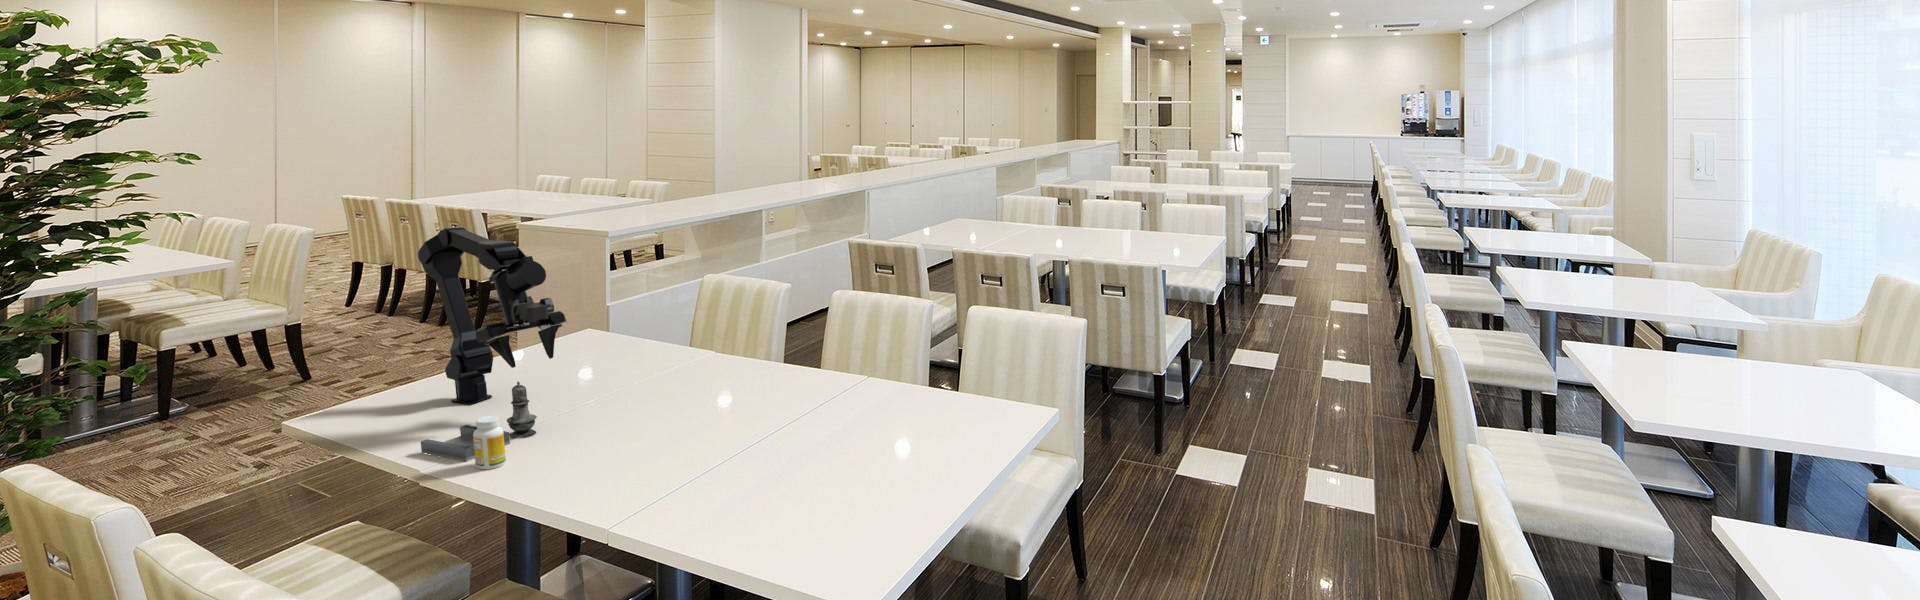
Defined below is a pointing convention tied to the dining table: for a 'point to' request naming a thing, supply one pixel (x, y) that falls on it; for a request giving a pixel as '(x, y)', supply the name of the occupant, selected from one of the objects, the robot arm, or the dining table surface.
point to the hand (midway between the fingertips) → (532, 362)
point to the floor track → (456, 445)
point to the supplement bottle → (489, 443)
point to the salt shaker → (521, 414)
